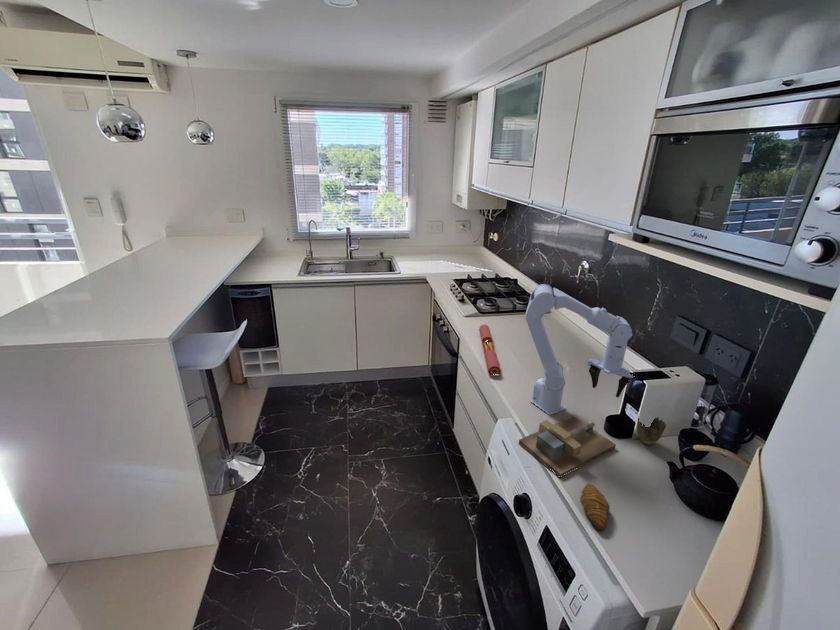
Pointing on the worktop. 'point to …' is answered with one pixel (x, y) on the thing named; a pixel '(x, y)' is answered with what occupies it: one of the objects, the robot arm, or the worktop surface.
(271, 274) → the worktop surface
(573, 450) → the tan wooden bar
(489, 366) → the pink labeled cylinder
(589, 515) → the croissant
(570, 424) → the rod base
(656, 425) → the olive green lumpy piece
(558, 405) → the robot arm
